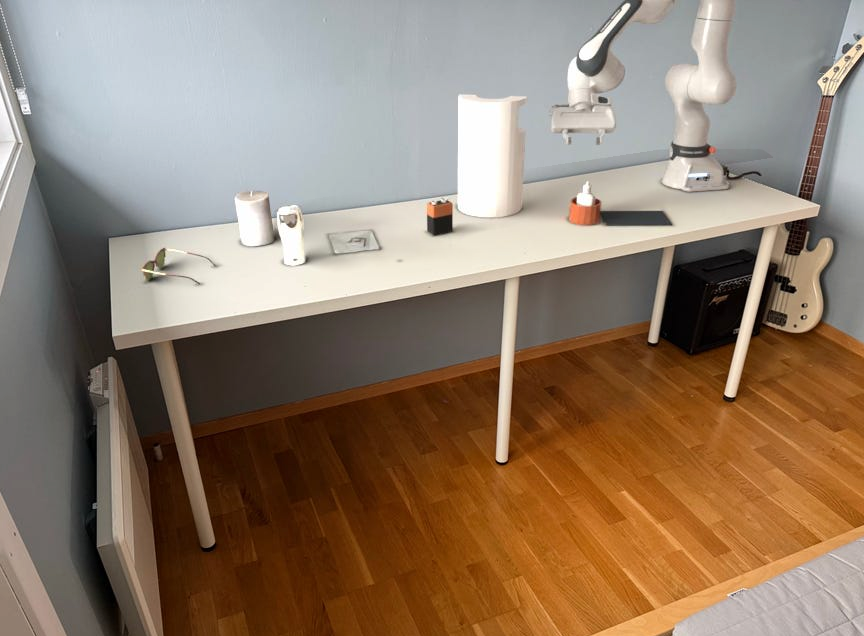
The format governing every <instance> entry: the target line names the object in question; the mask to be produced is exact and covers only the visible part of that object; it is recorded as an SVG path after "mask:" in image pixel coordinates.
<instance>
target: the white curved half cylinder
mask: <svg viewBox="0 0 864 636" xmlns="http://www.w3.org/2000/svg"><path fill="white" fill-rule="evenodd" d="M527 102H528V96H525V95H524V96H521V95H510V96H507V97H502V98H484V97H478V96H477V94H467V93H465V94H464V93H459V94H458V115H457V117H458V118H457V119H458V120H457V121H458V122H457V123H458V124H457V125H458V127H457V132H458V133H457V137H458V138H457V151H458V152H457V208H458V210H459V211H460V212H461V213H463V214H466V215H469V216H473V217H478V218H502V217H508V216H513V215H515V214H517V213H519V212H520V211H521V210H522V205H523V203H522V202H523V186H524V170H525V169H524V168H525V151H526V149H525V148H526V132H527V131H526V130H525V129H523V128H522V127H520V126H519V112H520V111H519V108H520V107H522V106H523V105H525V104H526V103H527Z"/></svg>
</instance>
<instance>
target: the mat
mask: <svg viewBox="0 0 864 636" xmlns="http://www.w3.org/2000/svg"><path fill="white" fill-rule="evenodd" d="M600 217H601V218H602V220H603V222H604V224H605V226H607V227H611V226H614V227H615V226H616V227H617V226H618V227H619V226H631V227H633V226H634V227H635V226H636V227H637V226H639V227H641V226H644V227H645V226H648V227H649V226H653V227H654V226H655V227H656V226H661V227H662V226H673V223H672V222H671V220H670V219H669V218H668V217H667V215H666V214H665V212H664V211H663V210H601V212H600Z"/></svg>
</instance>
